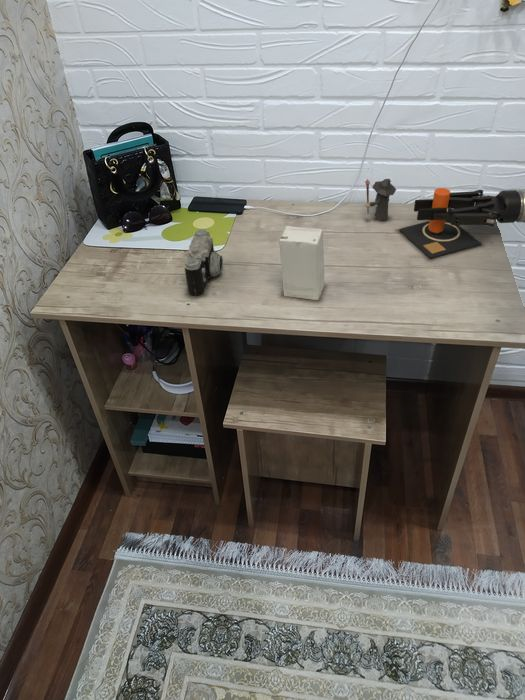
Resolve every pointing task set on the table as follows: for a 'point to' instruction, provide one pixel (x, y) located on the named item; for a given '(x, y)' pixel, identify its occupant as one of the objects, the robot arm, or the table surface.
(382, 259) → the table surface
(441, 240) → the black square board
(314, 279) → the cosmetic box
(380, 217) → the wizard figurine
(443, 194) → the cylinder
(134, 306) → the table surface
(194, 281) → the camera
